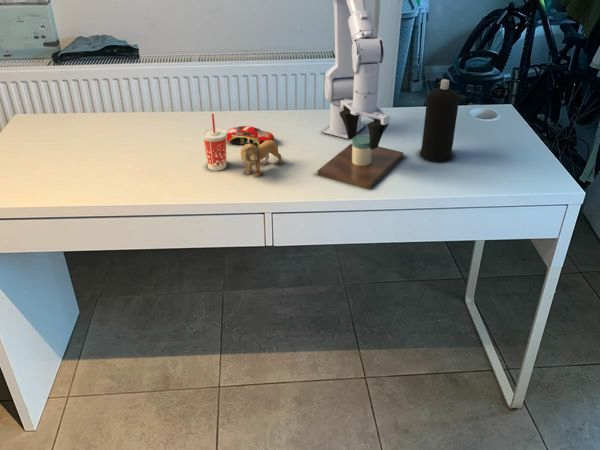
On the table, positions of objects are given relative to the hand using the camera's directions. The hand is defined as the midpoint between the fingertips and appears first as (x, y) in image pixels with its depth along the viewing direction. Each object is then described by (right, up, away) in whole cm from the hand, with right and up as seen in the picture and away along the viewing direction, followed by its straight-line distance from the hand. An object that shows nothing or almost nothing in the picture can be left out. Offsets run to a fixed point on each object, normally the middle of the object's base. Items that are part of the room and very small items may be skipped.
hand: (362, 142), depth 152 cm
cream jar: (0, -4, +3) cm, 5 cm away
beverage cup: (-36, -6, +4) cm, 37 cm away
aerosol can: (+20, -2, +8) cm, 22 cm away
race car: (-29, +2, +15) cm, 33 cm away
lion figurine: (-25, -7, +2) cm, 26 cm away
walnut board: (0, -5, +3) cm, 6 cm away
